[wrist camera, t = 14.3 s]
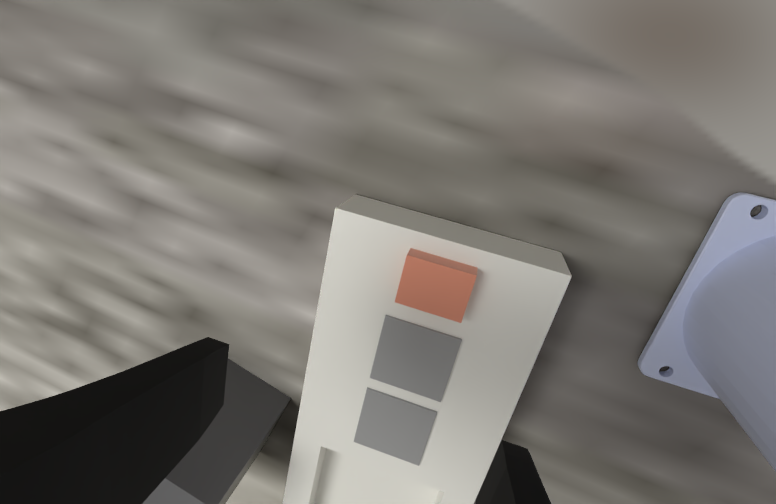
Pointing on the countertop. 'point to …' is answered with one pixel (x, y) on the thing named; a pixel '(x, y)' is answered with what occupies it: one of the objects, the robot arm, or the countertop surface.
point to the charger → (225, 443)
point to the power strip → (416, 356)
